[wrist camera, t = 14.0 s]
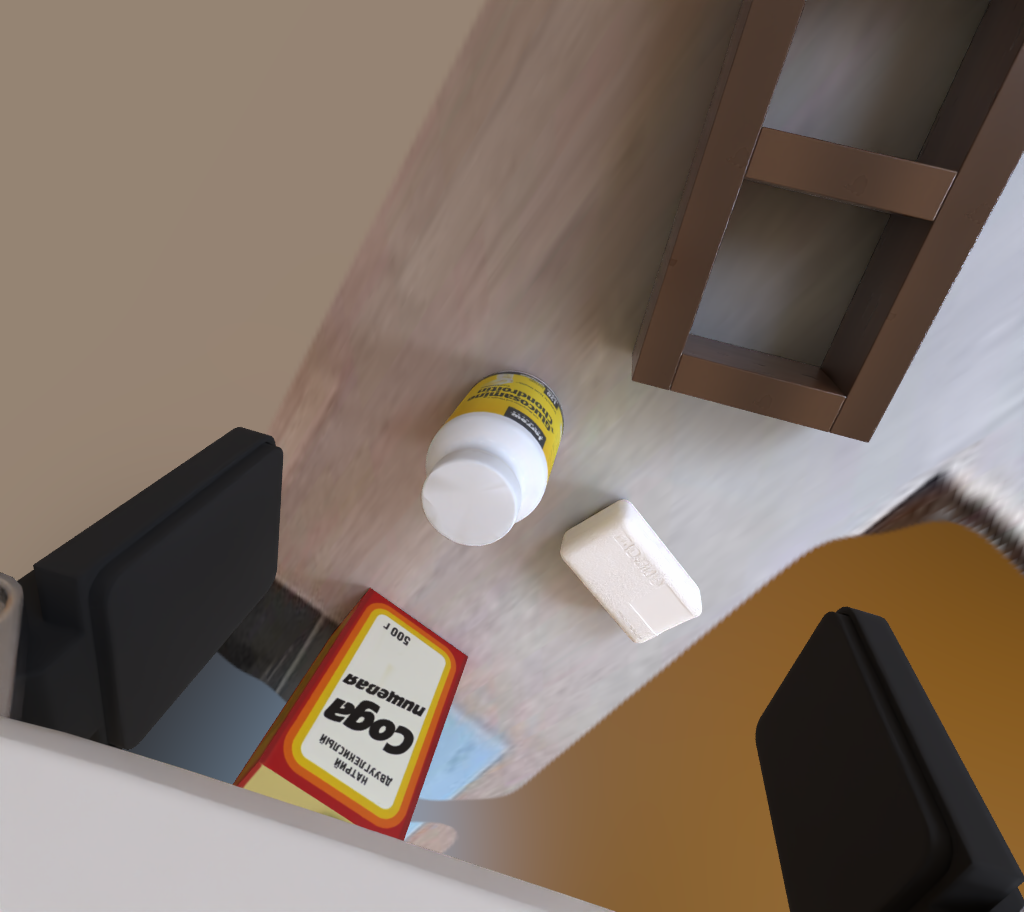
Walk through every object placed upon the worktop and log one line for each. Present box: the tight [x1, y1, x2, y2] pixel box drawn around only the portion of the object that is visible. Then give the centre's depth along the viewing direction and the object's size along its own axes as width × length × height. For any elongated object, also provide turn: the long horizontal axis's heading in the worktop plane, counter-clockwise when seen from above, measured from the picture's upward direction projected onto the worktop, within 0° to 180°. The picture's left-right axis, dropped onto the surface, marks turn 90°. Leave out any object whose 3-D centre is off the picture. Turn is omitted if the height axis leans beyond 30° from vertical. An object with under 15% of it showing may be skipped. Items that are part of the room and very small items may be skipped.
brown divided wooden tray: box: [632, 0, 1024, 442], centre depth 28 cm, size 12×22×5 cm, turn 168°
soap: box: [560, 499, 702, 643], centre depth 41 cm, size 9×6×3 cm, turn 40°
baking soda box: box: [233, 588, 468, 841], centre depth 42 cm, size 10×6×16 cm
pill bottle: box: [421, 371, 564, 546], centre depth 34 cm, size 6×6×12 cm
